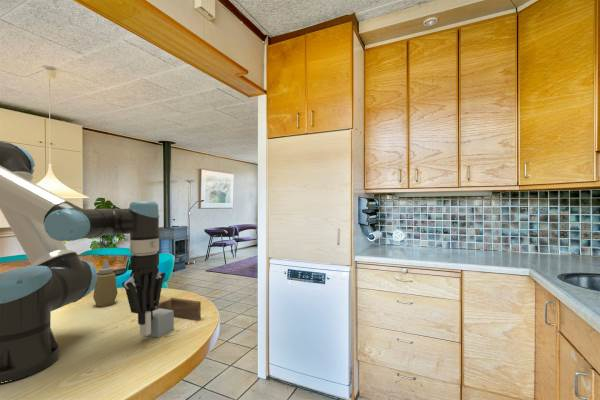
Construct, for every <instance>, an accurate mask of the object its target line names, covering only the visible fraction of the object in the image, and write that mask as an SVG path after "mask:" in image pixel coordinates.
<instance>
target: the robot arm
mask: <svg viewBox="0 0 600 400" xmlns="http://www.w3.org/2000/svg"><path fill="white" fill-rule="evenodd" d="M35 166H36V164H35V159H34V158H33V156H32V154H31V153H30V152H29V151H28V150H27V149H25V148H24V147H22V146H19V145H16V144H13V143H11V142H8V141H2V140H1V141H0V211H1V213H2V215H3V217H4V218H5V221H6V222H7V224H8V226H9V228H10V229H11V230H12V233H13V234H14V236H15V238H16V240H17V241H18V243H19V244H20V247H21V248H22V250H23V252H24V254H25V256H26V258H27V259H28V261H29V263H30V266H24V267H21V268H14V269H10V270H7V271H3V272H1V273H0V383H1V382H5V381H10V380H15V379H18V380H21V379H24V378H27V377H29V376H31V375H34V374H36V373H39V372H41V371H43V370H44V369H46V368H48V367H49V366H51V365H53V364H54V363H55V362H57V360H58V359H59V356H60V346H59V344H58V341H57V339H56V337H55V335H54V332H53V330H52V327H51V317H52V316H51V315H52V313H51V312H53V311H55V310H57V309H60V308H63V307H65V306H68V305H70V304H72V303H76V302H78V301H79V300H81V299H82V298H85V297H86V296H89V294H91V293H92V291H94V287H95V284H96V282H97V275H98V271H97V269H96V267H95V266H94V264H93V263H92V262H90V261H87V260H85V259H80V256H79V255H78V254H77V251H74V250H71V249H67V246H66V245H65V243H64V241H66V242H67V241H68V242H71V241H73V242H74V241H77V240H83V239H87V238H94V237H101V236H108V235H125V234H126V235H129V254H131V255H130V256H129V262H130V263H129V266H130V269H131V272H130V274H129V278H128V279H127V280H126V281H123V282H122V283H121V286H122V287H123V288H124V290H125V293H126V297H127V302H128V304H129V305H128V306H129V308H130V309H129V310H130V313H132V314H137V324H138V325H139V334H140V335H141V336H147V335H149V334H151V321H152V319H153V311H154V310H155V309H156V308H154V307H155V306H158V305H159V302H160V298H161V293H162V289H163V288H162V287H163V281H164V279H165V277H166V273H165V272H161V271H160V269H159V265H160V254H159V251H160V236H159V235H160V233H159V231H160V230H159V229H160V227H159V226H160V214H159V212H160V211H159V204H158V203H157V202H156V201H146V200H145V201H142V200H141V201H131V202H130V203H129V207H128V208H82V207H80V206H77V205H76V204H74V203H73V202H70V201H68V199H67V200H66V199H64V198H63V197H61V196H59V195H57V194H56V193H54V192H52V191H49V190H47V189H46V188H44V187H42V186H40V185H38V184H36V183H34V182H33V181H32V180H33V179H34V175H33V174H34V172H35V169H34V167H35ZM134 283H135V284H134ZM134 286H135V287H134ZM136 290H137V293H136ZM147 337H148V336H147ZM26 376H27V377H26ZM23 377H24V378H23ZM20 378H21V379H20ZM15 381H16V380H15Z"/></svg>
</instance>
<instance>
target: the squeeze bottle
mask: <svg viewBox="0 0 600 400" xmlns="http://www.w3.org/2000/svg"><path fill="white" fill-rule="evenodd" d="M116 276H117V275H116V273H115V272H114V270H113V267H111V266H110V263H109V259H107V258H105V259H103V263H102V266H101V268H99V269H98V273H97V282H96V284H95V287H94V289H93V301H94V303H95V305H96V307H107V306H111V305H113V304H115V302H116V299H117V295H118V286H117V279H116V278H117V277H116Z"/></svg>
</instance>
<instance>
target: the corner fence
mask: <svg viewBox="0 0 600 400" xmlns="http://www.w3.org/2000/svg"><path fill="white" fill-rule="evenodd" d="M201 302H202V301H201V300H191V299H186V298H179V297H178V298H177V297H169V298H167V299H164V300H161V301H159V305H158V306H155V307H154V308H156V309H155V310H157V309H159V308H161V309H167V310H174V318H181V319H186V320H191V321H197V322H198V321H200V320H201V318H202V317H201V316H202V315H201V313H202V312H201V311H202V310H201V308H202V307H201V305H202V303H201Z"/></svg>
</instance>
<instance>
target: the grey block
mask: <svg viewBox="0 0 600 400" xmlns="http://www.w3.org/2000/svg"><path fill="white" fill-rule="evenodd" d="M174 321H175V317H174V310H167V309H161V308H159V309H157V310H154V311H153V319H152V321H151V334H149V335H147V337H152V338H157V339H159V338H161V337H163V336H165V335H167V334H168V333H170V332H172V331H174V330H175V326H174V325H175V323H174Z"/></svg>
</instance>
